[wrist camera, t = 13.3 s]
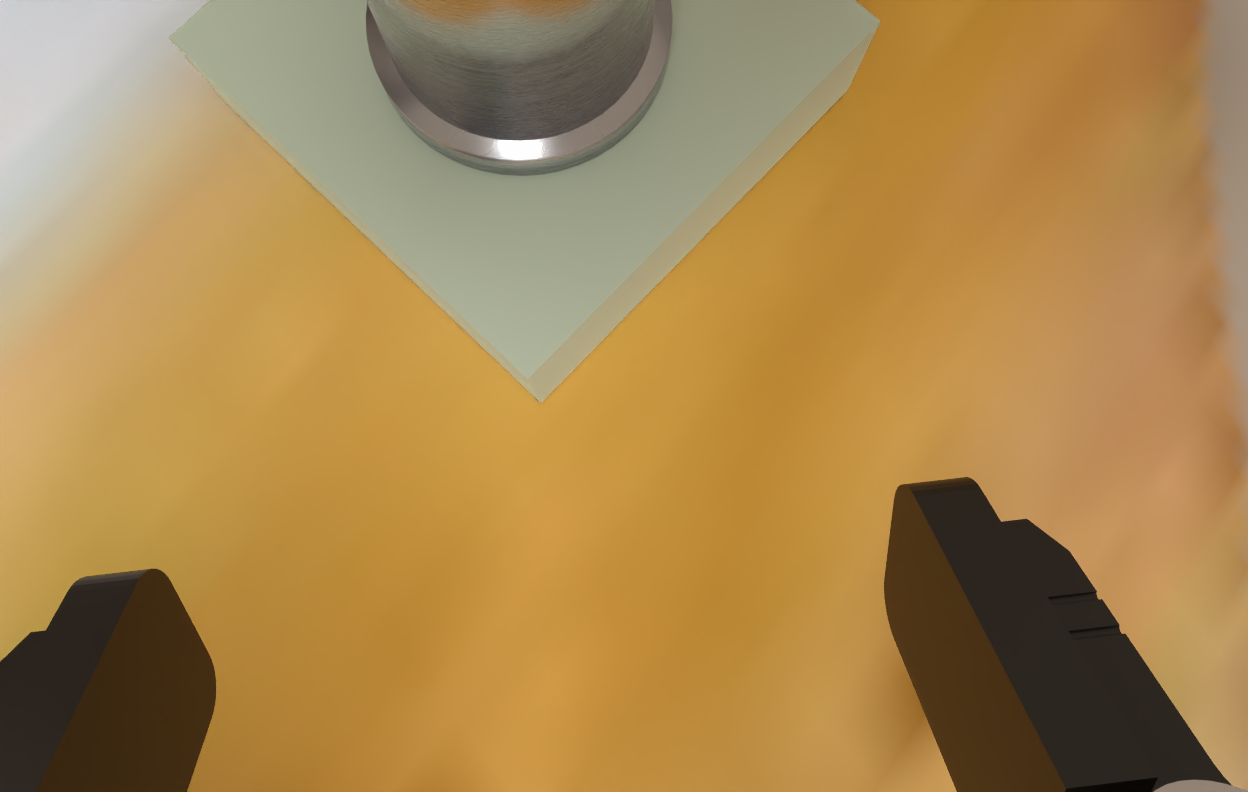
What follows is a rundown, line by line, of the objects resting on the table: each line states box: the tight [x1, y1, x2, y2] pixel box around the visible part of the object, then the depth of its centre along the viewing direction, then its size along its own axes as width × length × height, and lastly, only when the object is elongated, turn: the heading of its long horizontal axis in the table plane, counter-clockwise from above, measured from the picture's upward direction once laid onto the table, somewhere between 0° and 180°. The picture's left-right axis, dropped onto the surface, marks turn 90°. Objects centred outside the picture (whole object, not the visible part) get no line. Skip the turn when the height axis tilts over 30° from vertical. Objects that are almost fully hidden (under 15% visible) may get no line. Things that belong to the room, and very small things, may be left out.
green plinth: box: [169, 0, 881, 403], centre depth 21 cm, size 11×11×3 cm
